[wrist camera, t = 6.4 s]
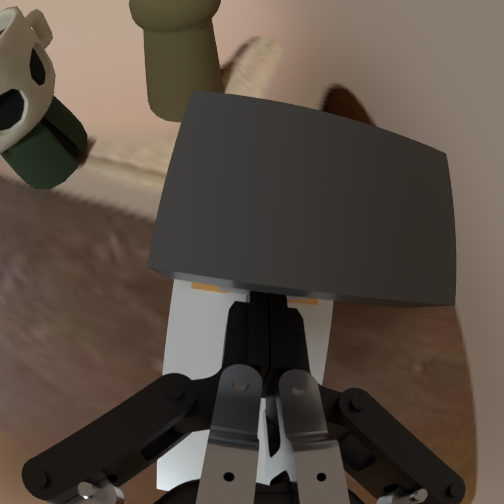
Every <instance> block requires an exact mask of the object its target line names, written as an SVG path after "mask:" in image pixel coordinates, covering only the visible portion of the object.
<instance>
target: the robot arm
mask: <svg viewBox="0 0 504 504" xmlns="http://www.w3.org/2000/svg"><path fill="white" fill-rule="evenodd" d="M304 329H305V328H304V321H303V317H302V316H301V314H300V312H299V311H298V309H297V308H289V307H288V305H287V296H286V295H280V294H273V293H265V292H257V291H250V290H249V293H248V297H247V302H241V301H235V302H234V303H233V304H232V306H231V307H230V308H229V312H228V318H227V324H226V330H225V338H224V347H223V356H222V366H221V369H220V370H219V371H218V372H217V373H216V374H215V375H213V376H211V377H208V378H204V379H196V380H191V379H190V378H189V377H187V376H186V375H183V374H180V373H168V374H165V375H163V376H161V377H160V378H158V379H157V380H155V381H154V382H152V383H151V384H149V385H148V386H147V387H145V388H144V389H142V390H141V391H139V392H138V393H136V394H135V395H133V396H132V397H130V398H129V399H127V400H126V401H124V402H123V403H121V404H120V405H118V406H117V407H115V408H114V409H112V410H110V411H109V412H107V413H106V414H104V415H103V416H101V417H100V418H98V419H96V420H95V421H93V422H92V423H90V424H89V425H87V426H85V427H84V428H82V429H80V430H79V431H77V432H76V433H74V434H72V435H71V436H69V437H67V438H66V439H64V440H62V441H61V442H59V443H57V444H56V445H54V446H52V447H51V448H49V449H47V450H46V451H44V452H42V453H40V454H39V455H37V456H35V457H33V458H32V459H30V460H29V461H27V462H26V463H25V464H24V467H23V469H22V479H23V483H24V485H25V487H26V488H27V490H28V491H29V492H30V493H31V494H32V495H33V496H35V497H37V498H39V499H41V500H44V501H47V502H48V503H50V504H124V496H123V493H122V491H121V490H120V489H119V487H120V486H121V485H123V484H124V483H126V482H127V481H128V480H130V479H131V478H133V477H134V476H136V475H137V474H138V473H140V472H141V471H143V470H144V469H145V468H147V467H148V466H150V465H151V464H152V463H154V462H155V461H156V460H158V459H159V458H160V457H162V456H163V455H164V454H166V453H167V452H168V451H170V450H171V449H172V448H173V447H175V446H176V445H177V444H179V443H180V442H181V441H182V440H184V439H185V438H186V437H187V436H189V435H190V434H191V433H192V432H197V431H203V430H209V429H210V432H209V436H208V441H207V446H206V452H205V457H204V462H203V467H202V472H201V478H200V479H195V480H190V481H187V482H184V483H182V484H180V485H177V486H176V487H174V488H172V489H171V490H170V491H168V492H167V493H166V494H165V495H163V496H162V497H161V498H160V499H159V500H157V501H156V502H155V503H154V504H365V503H364V502H363V501H361V500H360V499H359V498H358V497H357V496H356V495H355V494H354V493H353V492H352V491H351V490H349V489H348V488H347V484H346V479H345V474H344V470H346V471H347V472H348V473H349V474H350V475H351V476H352V477H353V478H354V479H355V480H356V481H357V482H358V483H359V484H360V485H362V486H363V487H364V488H365V489H366V490H367V491H368V492H369V493H370V494H371V495H373V496H374V497H375V498H376V499H377V500H378V501H377V504H459V503H460V502H461V501H462V499H463V497H464V495H465V483H464V481H463V479H462V478H461V477H460V476H459V475H458V474H456V473H455V472H454V471H453V470H452V469H451V468H450V467H448V466H447V465H446V464H445V463H444V462H443V461H442V460H441V459H439V458H438V457H437V456H436V455H435V454H434V453H433V452H432V451H430V450H429V449H428V448H427V447H426V446H425V445H424V444H423V443H422V442H420V441H419V440H418V439H417V438H416V437H415V436H414V435H413V434H412V433H410V432H409V431H408V430H407V429H406V428H405V427H404V426H403V425H402V424H401V423H400V422H398V421H397V420H396V419H395V418H394V417H393V416H392V415H391V414H390V413H389V412H388V411H386V410H385V409H384V408H383V407H382V406H381V405H380V404H379V403H378V402H377V401H376V400H375V399H374V398H372V397H371V396H370V395H369V394H368V393H367V392H366V391H364V390H362V389H359V388H350V389H347V390H345V391H344V392H343V393H341V392H338V391H335V390H331V389H328V388H326V387H323V386H322V385H320V384H319V383H318V382H317V381H316V379H315V378H314V377H313V376H312V375H311V372H310V366H309V358H308V350H307V343H306V339H305V338H306V335H305V331H304ZM261 398H265V402H266V408H265V409H264V412H263V426H264V438H265V450H266V463H265V468H264V478H265V484H262V483H258V482H256V476H257V466H258V457H259V439H258V425H259V414H260V404H261Z"/></svg>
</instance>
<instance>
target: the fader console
mask: <svg viewBox="0 0 504 504" xmlns="http://www.w3.org/2000/svg"><path fill="white" fill-rule="evenodd" d="M247 297H248V295H247V294H240V293H233V292H226V291H219V289H218V286H215V285H208V284H202V283H195V282H189V281H183V280H176V279H174V286H173V292H172V299H171V306H170V313H169V321H168V329H167V337H166V346H165V355H164V365H163V375H165V374H168V373H180V374H183V375H186V376H187V377H189V378H190V379H191V380H196V379H204V378H208V377H211V376H213V375H215V374H216V373H217V372H218V371H219V370H220V369H221V366H222V356H223V347H224V338H225V330H226V324H227V318H228V312H229V308H230V307H231V306H232V304H233V303H234V302H235V301H241V302H247ZM333 302H334V301H332V300H322V299H303V300H287V305H288V307H289V308H297V309H298V311H299V312H300V314H301V316H302V317H303V321H304V328H305V329H304V331H305V335H306V338H305V339H306V343H307V350H308V358H309V366H310V372H311V375H312V376H313V377H314V378H315V379H316V381H317V382H318V383H319V384H320V385H322V382H323V376H324V369H325V363H326V357H327V350H328V343H329V335H330V328H331V319H332V311H333ZM163 375H162V376H163ZM265 408H266V402H265V398H261V404H260V414H259V425H258V439H259V457H258V466H257V476H256V482H258V483H262V484H265V478H264V468H265V463H266V450H265V438H264V426H263V412H264V409H265ZM209 432H210V429H209V430H203V431H197V432H192V433H191V434H190V435H189V436H187V437H186V438H185V439H184V440H182V441H181V442H180V443H179V444H177V445H176V446H175V447H173V448H172V449H171V450H170V451H168V452H167V453H166V454H164V455H163V456H162V457H160V458H159V459H158V460H157V489H161V490H166V491H170V490H171V489H172V488H174V487H176V486H177V485H180V484H182V483H184V482H187V481H190V480H195V479H200V478H201V472H202V467H203V462H204V457H205V452H206V446H207V441H208V436H209Z"/></svg>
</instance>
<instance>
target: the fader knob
mask: <svg viewBox="0 0 504 504" xmlns="http://www.w3.org/2000/svg"><path fill="white" fill-rule="evenodd" d="M147 267H148V268H150V269H152V270H154V271H155V272H157V273H159V274H161V275H163V276H165V277H167V278H170V279H176V280H183V281H189V282H195V283H202V284H208V285H215V286H218V289H219V291H226V292H233V293H240V294H247V295H248V293H249V290H250V291H257V292H265V293H273V294H280V295H286V296H287V300H303V299H322V300H332V301H341V302H351V303H361V304H371V305H382V306H393V307H433V306H453V305H455V294H456V235H455V219H454V208H453V198H452V190H451V181H450V174H449V168H448V162H447V156H446V153H443V152H441V151H439V150H436V149H434V148H432V147H430V146H427V145H425V144H422V143H420V142H417V141H415V140H412V139H410V138H407V137H404V136H401V135H399V134H396V133H393V132H390V131H387V130H384V129H382V128H379V127H376V126H372V125H369V124H366V123H363V122H360V121H356V120H353V119H349V118H346V117H342V116H339V115H335V114H331V113H327V112H323V111H319V110H315V109H310V108H306V107H302V106H297V105H292V104H287V103H283V102H277V101H272V100H266V99H260V98H254V97H247V96H240V95H233V94H225V93H216V92H206V91H194V90H192V92H191V94H190V97H189V100H188V103H187V107H186V110H185V113H184V116H183V119H182V122H181V126H180V129H179V132H178V136H177V139H176V142H175V146H174V149H173V153H172V157H171V160H170V164H169V168H168V172H167V176H166V179H165V183H164V188H163V192H162V196H161V200H160V205H159V209H158V213H157V218H156V223H155V227H154V232H153V237H152V242H151V247H150V253H149V258H148V264H147Z"/></svg>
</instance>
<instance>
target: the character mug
mask: <svg viewBox="0 0 504 504" xmlns="http://www.w3.org/2000/svg"><path fill="white" fill-rule="evenodd" d="M31 27H32V28H33V30H34V31H33V30H32V29H31ZM52 39H53V36H52V32H51V30H50V28H49V26H48V24H47V21H46V19H45V17H44V15H43V13H42V12H40V11H39V10H38V9H36V10H34V11H32V12H30V13H29V15H27V16H26V17H25V18H24V16H23V14H22V12H21V11H20V10H19V8H18V7H17V6H16V7H9V8H6V9H4V10H3V11H1V12H0V154H1V155H2V157H3V158H4V159H5V160H6V161H7V163H8V164H9V165H10V166H11V167H12V168H13V170H14V171H15V172H16V173H17V174H18V175H19V176H20V177H21V178H22V179H23V180H24V181H25V182H26V183H28V184H29V185H30V186H32V187H33V188H34V189H51V188H53V187H55V186H57V185H59V184H61V183H63V182H64V181H66V179H67V178H68V177H69V176H70V175H71V174H72V173H73V172H74V171H75V170H76V169H77V168H78V165H79V163H78V162H77V161H76V160H75V159H74V158H73V157H72V155H73V153H74V151H75V147H76V146H77V147H78V148H79V149H80V150H81V151H82V152H83V153H85V151H86V148H87V133H86V131H85V130H84V127H83V125H82V124H81V122H80V121H79V120H78V119H77V118H76V117H75V116H74V115H73V114H72V112H71V111H70V110H68V109H67V108H66V107H65V106H64V105H63V104H62V103H61V102H60V101H59V100H58V99H57V98H56V97H55V96H54V95H53V94H54V85H55V71H54V68H53V64H52V61H51V60H50V58H49V57H48V55H47V53H46V51H45V48H46V47H47V46H48V45H49V44H50V42H51V40H52Z"/></svg>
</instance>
